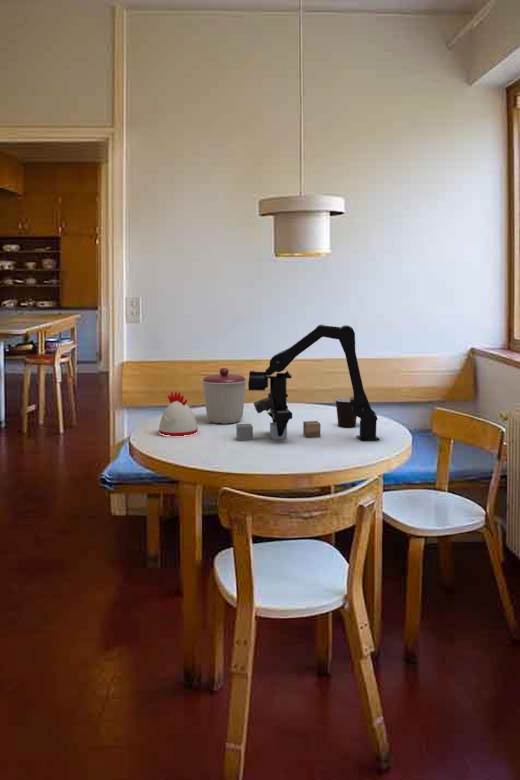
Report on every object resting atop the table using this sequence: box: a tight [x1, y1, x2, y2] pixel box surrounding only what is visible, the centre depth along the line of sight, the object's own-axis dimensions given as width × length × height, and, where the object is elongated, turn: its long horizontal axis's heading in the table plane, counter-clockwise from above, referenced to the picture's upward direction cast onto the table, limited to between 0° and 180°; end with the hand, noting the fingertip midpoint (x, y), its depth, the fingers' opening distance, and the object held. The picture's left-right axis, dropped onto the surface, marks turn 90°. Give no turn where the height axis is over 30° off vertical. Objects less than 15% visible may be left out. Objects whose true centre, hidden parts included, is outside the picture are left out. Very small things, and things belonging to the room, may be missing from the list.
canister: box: [200, 367, 249, 425], centre depth 286 cm, size 18×18×21 cm
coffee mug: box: [335, 397, 358, 429], centre depth 277 cm, size 12×9×10 cm
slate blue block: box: [269, 421, 288, 441], centre depth 258 cm, size 5×5×5 cm
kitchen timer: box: [158, 391, 199, 436], centre depth 266 cm, size 14×14×15 cm
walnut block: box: [302, 420, 321, 439], centre depth 260 cm, size 5×5×5 cm
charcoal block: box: [235, 423, 254, 442], centre depth 256 cm, size 5×5×5 cm
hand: (278, 434), depth 258 cm, fingers closed on slate blue block, 5 cm apart
